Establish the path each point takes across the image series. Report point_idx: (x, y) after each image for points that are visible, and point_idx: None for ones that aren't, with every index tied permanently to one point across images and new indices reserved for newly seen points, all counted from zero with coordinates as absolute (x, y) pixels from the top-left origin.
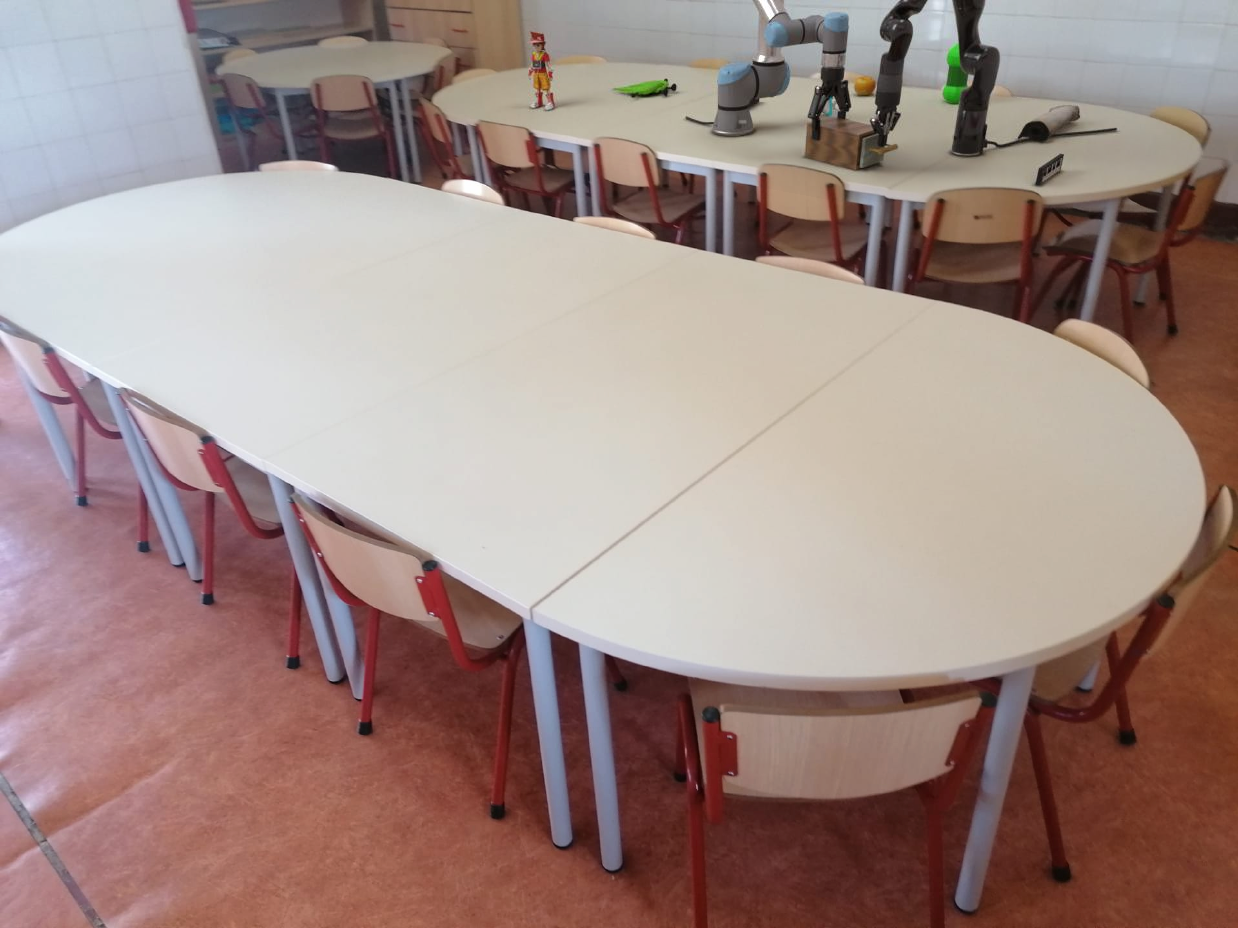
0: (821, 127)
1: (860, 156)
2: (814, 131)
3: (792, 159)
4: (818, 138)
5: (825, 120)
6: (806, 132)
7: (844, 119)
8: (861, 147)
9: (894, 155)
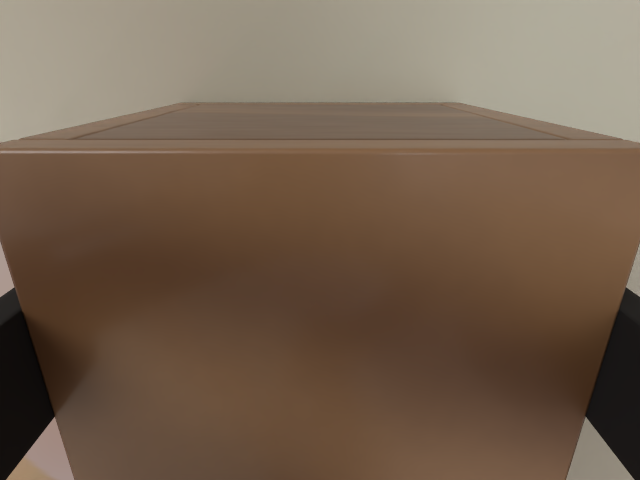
0: (69, 424)
1: None
2: None
3: (67, 63)
4: None
5: (350, 284)
6: (72, 128)
7: (569, 441)
8: None
9: (577, 464)
